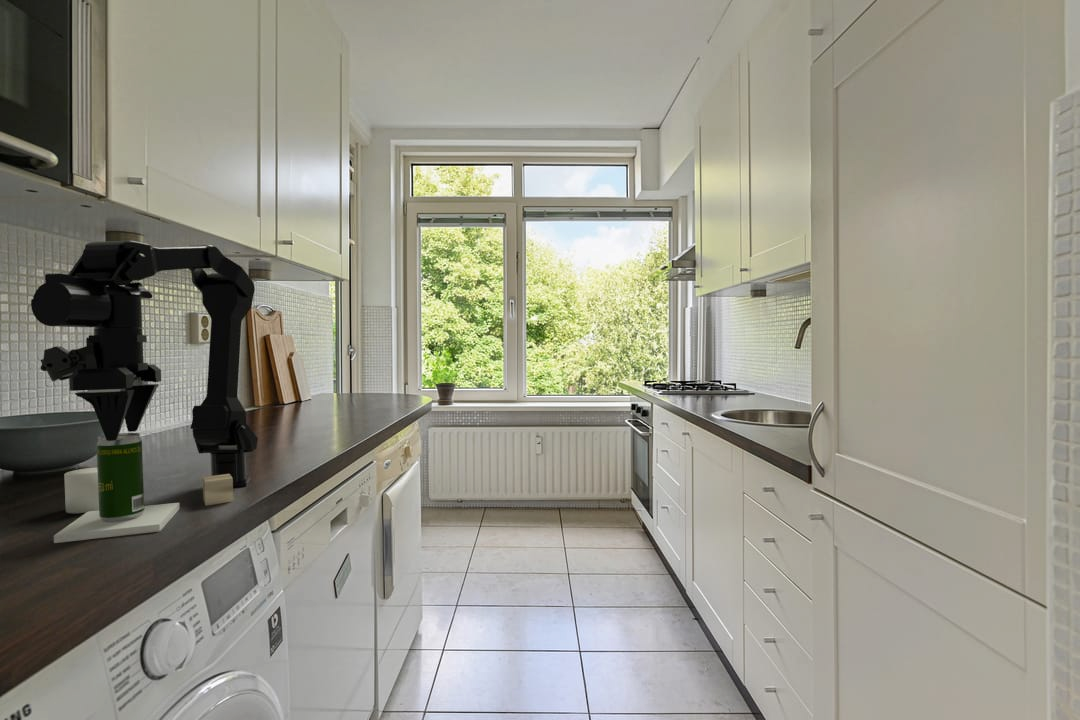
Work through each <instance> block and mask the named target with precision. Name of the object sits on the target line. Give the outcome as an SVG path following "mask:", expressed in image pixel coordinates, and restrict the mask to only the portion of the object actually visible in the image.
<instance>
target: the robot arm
mask: <svg viewBox="0 0 1080 720" xmlns="http://www.w3.org/2000/svg"><path fill="white" fill-rule="evenodd" d="M82 252H83V253H82V255H81V256H80V258H78V260H77V262H75V264H74V265H73V267H72V268H71V270H70V271H69V272H68V274H67V273H59V272H57V273H45V274H44V280H45V281H44V283H43V284H41V285H40V286H39V287H38V288H37V289H36V290H35V293H34V295H33V298H32V299H30V307H31V312H32V313H33V316H34V317H35V319H36V320H37V321H38V322H39V323H40V324H42V325H44V326H48V327H59V328H60V327H64V328H66V327H67V328H69V327H70V328H93V334H89V335H88V337H86V339H85V341H86V342H85V343H86V345H85V346H83V347H80V348H76V349H70V351H69V350H67V349H66V348H65V347H63V346H61V345H60V346H53V347H50V348H49V347H48V348H46V349H44V352H43V356H42V357H43V359H40V362H41V366H40V370H41V371H43V372H47V374H48V376H49V378H50V380H51V381H52V382H57V380H59V381H65V380H66V381H67V380H69V382H68V383H69V391H71V392H74V391H75V392H74V394H75V396H77V397H78V398H81V399H83V400H85V402H88V403H89V404H90V405H91V406H92V408H93V410H94V412H95V415H96V417H97V419H98V421H99V424H100V428H101V429H102V432H103V436H104V435H105V438H106V440H107V441H115V440H117V438H118V435H119V434H120V433H121V430H122V427H123V425H124V422H125V425H126V430H127V432H128V433H135V432H137V431H138V429H139V427H140V425H141V422H142V420H143V418H144V416H145V413H146V411H147V410H148V408H149V406H150V403H151V401H152V399H153V397H154V395H155V393H156V390H157V388H159V387H160V386H159V385H160V384H159V382H162V369H161V368H159V367H158V365H155V364H149V363H148V362H144V361H145V359H144V343H147V342H148V337H147V336H148V335H146V334H145V335H144V333H143V332H144V331H143V313H142V312H143V310H142V309H143V308H142V300H146V299H147V300H148V299H152V298H153V293H151V292H150V290H148V289H146V287H144V286H143V284H142V283H141V282H139V281H141V280H145V279H148V278H151V277H154V276H155V275H156V274H157V273H159V272H162V271H163V272H164V271H174V270H185V269H188V270H189V271H190V273H191V282H192V284H193V285H194V286H195V288H197V289H198V291H199V292H200V293H201V299H202V300H201V301H202V305H203V307H204V309H205V310H206V312H207V313H208V315H209V317H210V334H209V338H210V339H209V353H208V364H207V365H208V367H207V368H208V369H207V383H206V384H207V385H206V396H205V398H204V399H203V401H202V402H201V403H200V405H194V406H193V408H192V411H191V412H192V414H191V415H192V422H191V424H190V429H192V436H193V437H192V438H193V440H194V442H195V445H196V448H197V453H198V454H210V455H209V456H210V476H216V475H223V474H230V475H231V476H232V478H233V488H234V487H235V488H236V487H244V486H245V487H246V486H247V485H248V484H249V482H250V480H251V475H247V467H246V466H247V465H246V464H247V463H246V453H250V452H251V453H252V452H254V451H255V450H257V447H258V446H257V445H258V441H259V438H258V437H257V435H256V434H255V433H254V431H253V430H252V429H251V427H250V426H249V425H248V423H247V411H246V410H245V407H244V406H243V404H242V402H241V401H240V400H239V398H238V390H239V388H238V387H239V372H240V354H241V353H240V352H241V338H242V337H241V336H242V335H241V334H242V321H243V319H245V317H246V316H247V315H248V313H249V311H250V310H251V308H252V306H253V300H254V296H255V295H254V293H255V291H256V290H255V284H254V282H253V279H252V278H251V277H250V275H248V274H247V272H246V271H245V270H244V268H243V267H242V266H241V265H239V264H237V263H236V262H234V261H233V260H231V259H229V258H228V257H227V256H225V255H224V254H223V252H221V251H220V248H217V246H213V245H211V244H201V245H198V244H197V245H189V246H178V247H175V246H174V247H173V246H172V247H171V246H170V247H157V246H152V245H151V244H149V243H147V242H146V243H145V242H142V241H136V240H113V241H112V240H111V241H109V240H107V241H92V242H88V243H86V244H85V246H84V249H83V250H82ZM204 269H212V270H213V273H209V274H208V273H207V272H206V271H205V270H204ZM134 281H135V282H134ZM136 281H137V282H136ZM150 382H151V383H150ZM149 383H150V384H149ZM76 391H78V392H76Z"/></svg>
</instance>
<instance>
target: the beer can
mask: <svg viewBox="0 0 1080 720" xmlns="http://www.w3.org/2000/svg"><path fill="white" fill-rule="evenodd" d="M140 434H141V433H139V432H122V433H121V432H120V433H119V435H118V438H117V440H115V441H107V440H106V438H105V435H104V434H103V435H101V436H98V437H97V443H96V446H95V447H96V467H97V472H98V497H99V517H100V518H101V520H102V521H103V522H120V521H126V520H131V519H135V518H137V517H140V516H141V515H142V514H143V512H144V506H145V489H144V488H145V487H144V484H145V483H144V465H143V463H144V461H143V459H144V458H143V439H142V438H141V435H140Z"/></svg>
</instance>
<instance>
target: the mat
mask: <svg viewBox="0 0 1080 720" xmlns="http://www.w3.org/2000/svg"><path fill="white" fill-rule="evenodd" d="M180 506H181V505H180V502H172V503H170V502H169V503H161V504H152V505H151V504H150V505H144V512H143V514H142V515H141V516H140V517H137V518H135V519H131V520H126V521H120V522H103V521H102V520H101V518H100V517H99V510H98V511H88V512H86V513H84V514H82V515H81V516H79V518H77V519H75V520H74V521H73V522H71V523H70V524H68V525H67V526H65V527H64V528H62V529H61V530H60V531H58V532H56V534H54V535H53V544H58V543H59V544H60V543H68V542H75V541H76V542H77V541H86V540H93V539H104V538H111V537H123V536H131V535H139V534H147V533H149V534H150V533H155V532H156V533H158V532H161V531H162V530H163V528H165V526H166V525H167V524H168V523H169V521H170V520H171V519H172V518H173V517H174V516H175V514H176V513H177V512H178V511H179V510H180Z"/></svg>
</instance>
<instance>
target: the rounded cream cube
mask: <svg viewBox="0 0 1080 720" xmlns="http://www.w3.org/2000/svg"><path fill="white" fill-rule="evenodd" d="M63 475H64V476H63V477H64V497H65V499H64V500H65V503H64V504H65V512H66V513H67V514H83V513H84V514H85V513H87V512H88V511H98V510H99V497H98V472H97V466H96V467H88V468H87V467H86V468H80V469H75V470H71V471H67V472H65V473H64V474H63Z"/></svg>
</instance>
